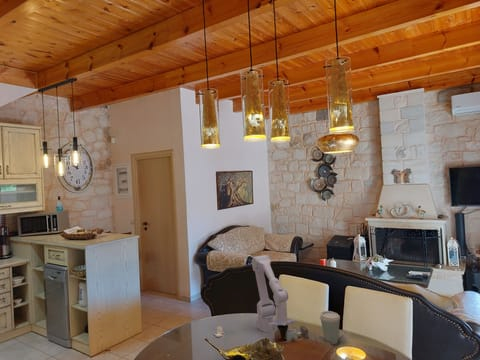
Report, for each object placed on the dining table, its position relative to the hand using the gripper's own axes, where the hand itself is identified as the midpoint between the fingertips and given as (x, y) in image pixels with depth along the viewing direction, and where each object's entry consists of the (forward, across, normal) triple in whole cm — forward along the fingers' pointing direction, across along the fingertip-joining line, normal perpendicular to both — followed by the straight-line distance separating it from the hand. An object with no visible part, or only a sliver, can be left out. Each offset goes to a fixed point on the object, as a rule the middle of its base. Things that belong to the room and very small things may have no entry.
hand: (283, 338), depth 183 cm
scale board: (+2, +4, 0) cm, 5 cm away
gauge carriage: (+1, +6, -1) cm, 6 cm away
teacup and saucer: (+3, -34, +23) cm, 41 cm away
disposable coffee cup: (+2, +24, -8) cm, 26 cm away
